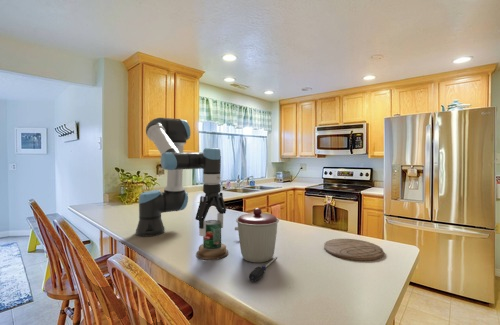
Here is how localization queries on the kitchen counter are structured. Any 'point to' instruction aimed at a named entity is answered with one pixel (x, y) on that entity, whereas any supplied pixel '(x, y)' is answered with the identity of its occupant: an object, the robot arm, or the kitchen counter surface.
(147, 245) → the kitchen counter surface
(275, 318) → the kitchen counter surface
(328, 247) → the trivet
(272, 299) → the kitchen counter surface
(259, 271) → the screwdriver
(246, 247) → the canister
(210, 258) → the pedestal
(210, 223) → the canned tomato
